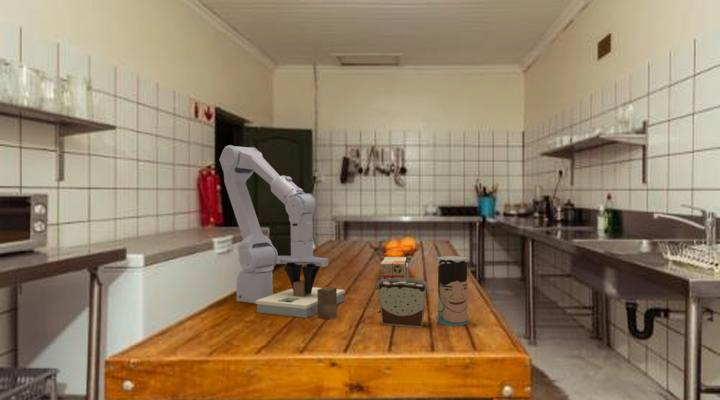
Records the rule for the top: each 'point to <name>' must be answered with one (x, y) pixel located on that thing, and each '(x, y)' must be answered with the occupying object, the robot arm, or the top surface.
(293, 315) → the shallow tray
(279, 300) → the lid
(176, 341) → the top surface
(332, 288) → the walnut key
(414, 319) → the food container
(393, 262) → the stack of blocks
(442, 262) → the cup
